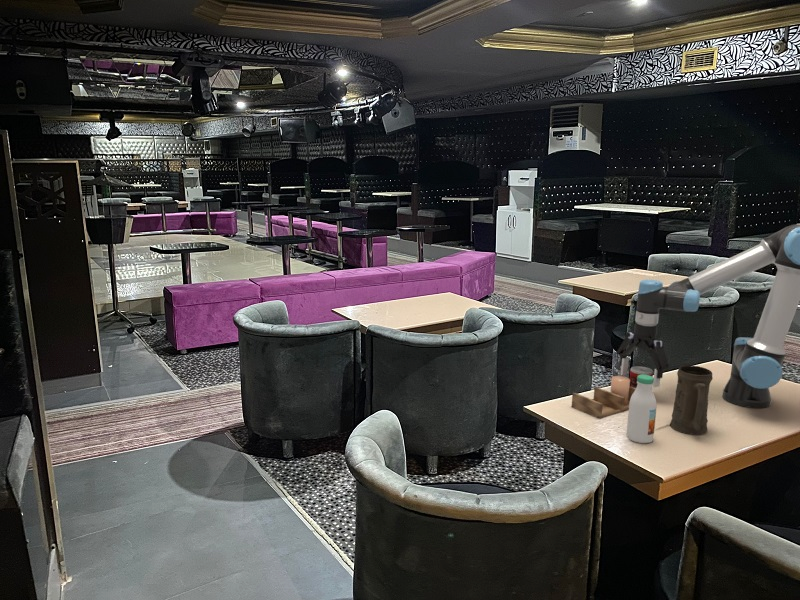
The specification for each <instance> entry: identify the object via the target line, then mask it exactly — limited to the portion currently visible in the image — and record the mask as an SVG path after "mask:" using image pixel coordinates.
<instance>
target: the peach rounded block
mask: <svg viewBox="0 0 800 600" xmlns="http://www.w3.org/2000/svg"><path fill="white" fill-rule="evenodd" d="M629 378H630V377H627V376H625V375H623V376H622V375H614V376H613V375H612V376H611V380H610V381H611V383H610V392H611V393H614V394H616V395H619V396H622V397H624V398H625V402H624V406H627V405H628V397H629V386H630V379H629Z"/></svg>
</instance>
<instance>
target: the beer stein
mask: <svg viewBox="0 0 800 600" xmlns="http://www.w3.org/2000/svg"><path fill="white" fill-rule="evenodd" d="M676 375H677V384H676V389H675V398H674V403H673V410H672V412H671V413H672V414H671V420H670V424H669V425H670V427H671V428H672V429H674V430H675V431H677V432H679V433H682V434H687V435H693V436H694V435H695V436H696V435H697V436H701V435H705V434H706V433H708V429H709V428H708V422H709V421H708V407H709V393H710V391H709V390H710V386H711V385H710V384H711V382H712V381H713V372H712V371H711V370H710V369H708V368H705V367H702V366H698V365H681V366H679V367H678V370H677V372H676Z"/></svg>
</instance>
